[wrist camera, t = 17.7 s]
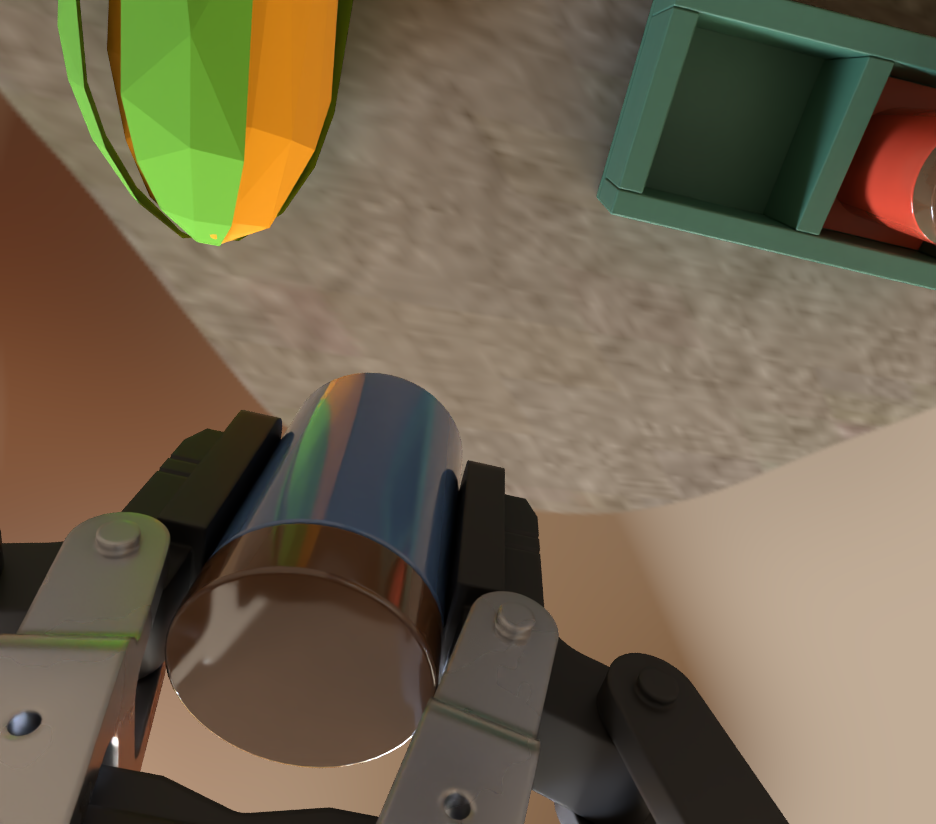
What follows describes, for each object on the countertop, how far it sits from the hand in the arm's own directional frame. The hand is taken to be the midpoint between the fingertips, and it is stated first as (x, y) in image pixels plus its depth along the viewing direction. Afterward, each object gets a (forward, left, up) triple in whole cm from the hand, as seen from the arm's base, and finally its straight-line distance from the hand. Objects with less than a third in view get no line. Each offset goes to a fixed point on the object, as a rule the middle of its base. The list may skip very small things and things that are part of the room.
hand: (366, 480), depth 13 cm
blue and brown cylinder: (0, 0, -1) cm, 1 cm away
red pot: (-8, +14, -14) cm, 21 cm away
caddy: (-8, +11, -15) cm, 20 cm away
